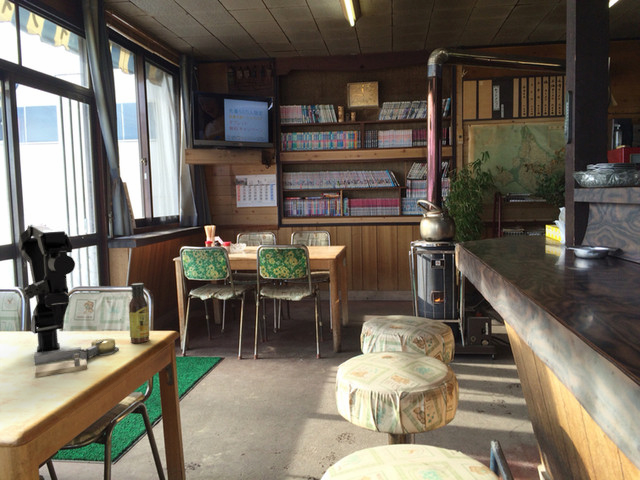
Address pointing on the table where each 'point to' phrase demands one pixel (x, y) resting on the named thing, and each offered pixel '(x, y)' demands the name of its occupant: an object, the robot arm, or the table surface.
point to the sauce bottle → (138, 315)
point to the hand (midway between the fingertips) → (59, 321)
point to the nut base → (107, 352)
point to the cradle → (61, 367)
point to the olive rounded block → (98, 348)
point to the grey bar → (56, 355)
